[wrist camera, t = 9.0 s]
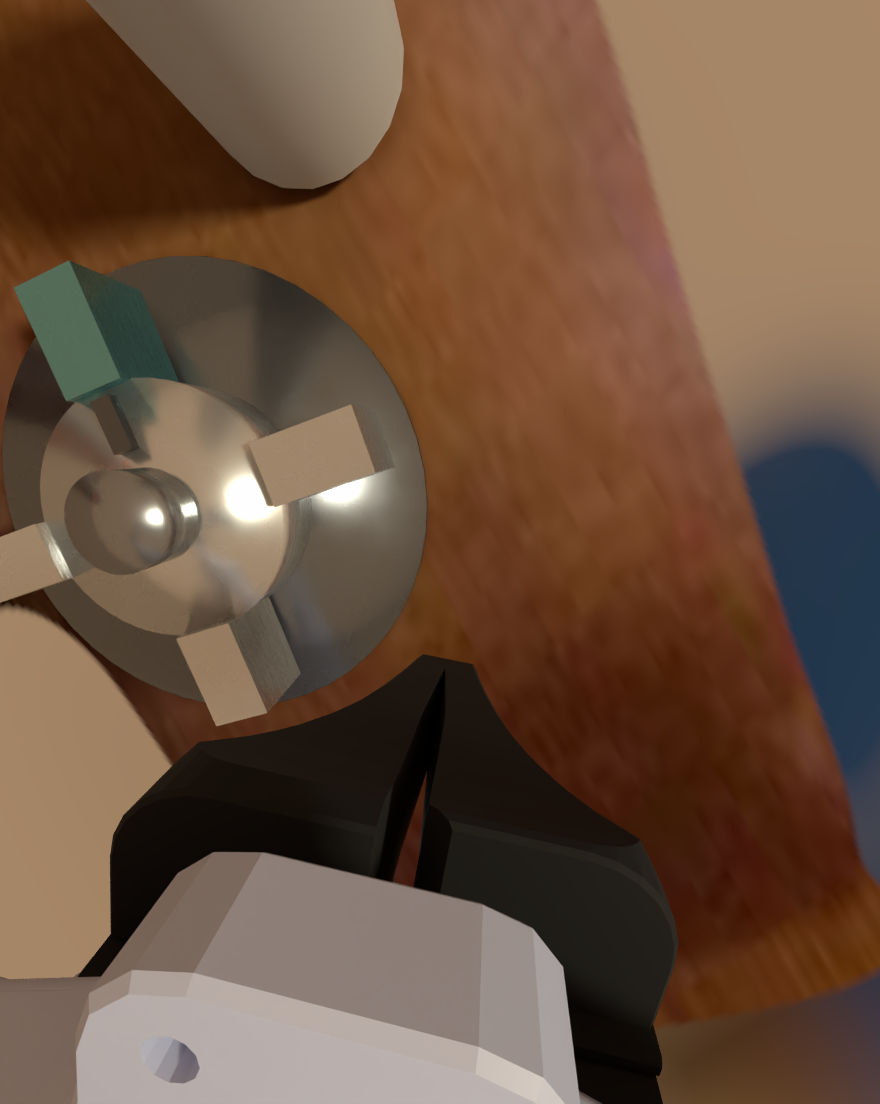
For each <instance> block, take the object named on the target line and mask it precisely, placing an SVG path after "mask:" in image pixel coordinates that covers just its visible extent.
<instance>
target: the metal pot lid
mask: <svg viewBox="0 0 880 1104" xmlns="http://www.w3.org/2000/svg"><path fill="white" fill-rule="evenodd" d="M14 290H15V292H16V294H17V296H18V298H19V301H20V303H21V305H22V307H23V309H24V311H25V313H26V316H27V318H28V320H29V322H30V324H31V326H32V329H33V331H34V333H35V335H36V337H37V339H38V342H39V344H40V346H41V348H42V350H43V352H44V355H45V357H46V359H47V361H48V363H49V365H50V367H51V370H52V372H53V374H54V376H55V378H56V380H57V383H58V385H59V387H60V389H61V391H62V393H63V396H64V398H65V400H66V401H70V402H75V403H74V404H73V405H72V406H71V407H70V408H69V409H68V411H67V412H66V413H65V414H64V415H63V417H62V418H61V419H60V421H59V422H58V424H57V425H56V427H55V429H54V431H53V433H52V435H51V437H50V439H49V441H48V444H47V447H46V450H45V453H44V457H43V462H42V468H41V478H40V495H41V506H42V511H43V517H44V521H45V522H44V523H38V524H33V525H31V526H28V527H25V528H23V529H20V530H18V531H15V532H12V533H10V534H7V535H4V536H2V537H0V603H1V602H4V601H7V600H10V599H14V598H17V597H20V596H23V595H26V594H29V593H32V592H35V591H38V590H41V589H44V588H47V587H50V586H53V585H57V584H60V583H62V582H65V581H68V580H71V579H73V580H74V581H75V582H76V583H77V584H78V585H79V587H80V588H81V589H82V590H83V591H84V592H85V593H86V594H87V595H88V596H89V597H90V598H91V599H92V600H93V601H95V602H96V603H97V604H98V605H99V606H101V607H102V608H103V609H105V610H106V611H108V612H109V613H110V614H112V615H114V616H116V617H117V618H119V619H121V620H122V621H124V622H127V623H129V624H131V625H133V626H136V627H138V628H141V629H144V630H148V631H151V632H155V633H161V634H167V635H182V636H180V637H179V638H177V639H176V640H177V642H178V644H179V646H180V648H181V651H182V653H183V655H184V657H185V659H186V661H187V664H188V666H189V668H190V670H191V672H192V674H193V676H194V679H195V681H196V683H197V685H198V687H199V689H200V692H201V694H202V696H203V698H204V700H205V702H206V705H207V707H208V709H209V711H210V713H211V715H212V718H213V720H214V722H215V724H216V726H219V725H223V724H227V723H230V722H234V721H238V720H242V719H246V718H250V717H253V716H257V715H261V714H265V713H268V712H269V710H270V709H271V708H272V707H273V706H274V704H275V703H276V702H277V701H278V700H279V699H280V697H281V696H282V695H283V694H284V693H285V691H286V690H287V689H288V688H289V687H290V686H291V684H292V683H293V682H294V681H295V680H296V678H297V677H298V676H299V675H300V674H301V673H300V671H299V668H298V666H297V663H296V661H295V659H294V656H293V654H292V651H291V649H290V647H289V644H288V642H287V639H286V637H285V635H284V632H283V630H282V627H281V625H280V623H279V620H278V618H277V616H276V613H275V611H274V608H273V606H272V604H271V601H270V599H269V597H270V596H271V595H272V594H274V593H275V592H276V591H278V590H279V589H280V588H281V587H282V586H283V585H284V584H285V583H286V582H287V581H288V580H289V579H290V577H291V576H292V575H293V573H294V572H295V570H296V569H297V567H298V566H299V564H300V562H301V560H302V558H303V556H304V553H305V550H306V547H307V544H308V541H309V536H310V531H311V521H312V506H311V496H314V495H317V494H319V493H322V492H325V491H328V490H331V489H334V488H337V487H340V486H343V485H345V484H348V483H351V482H354V481H357V480H360V479H363V478H366V477H369V476H371V475H374V474H377V473H380V472H383V471H386V470H389V469H392V468H395V465H394V462H393V459H392V456H391V453H390V450H389V447H388V444H387V442H386V439H385V436H384V433H383V430H382V427H381V424H380V422H379V419H378V416H377V413H376V410H372V409H368V408H364V407H360V406H356V405H352V404H351V405H348V406H345V407H343V408H340V409H337V410H335V411H332V412H330V413H327V414H324V415H322V416H319V417H316V418H314V419H311V420H308V421H306V422H303V423H300V424H298V425H295V426H293V427H290V428H287V429H285V430H282V431H281V430H280V429H279V428H278V427H277V426H276V425H275V424H274V423H273V422H272V421H271V420H270V419H269V418H268V417H267V416H266V415H265V414H264V413H262V412H261V411H260V410H258V409H257V408H256V407H255V406H253V405H251V404H250V403H248V402H246V401H244V400H243V399H241V398H239V397H236V396H234V395H232V394H229V393H227V392H224V391H220V390H216V389H213V388H208V387H202V386H197V385H191V384H186V383H181V382H179V381H178V379H177V376H176V374H175V371H174V369H173V367H172V364H171V362H170V359H169V357H168V355H167V352H166V350H165V347H164V345H163V343H162V340H161V338H160V335H159V333H158V331H157V328H156V326H155V323H154V321H153V319H152V316H151V314H150V311H149V309H148V307H147V304H146V302H145V300H144V297H143V295H142V292H141V291H140V290H138V289H135V288H133V287H131V286H128V285H126V284H123V283H121V282H119V281H116V280H114V279H112V278H109V277H107V276H105V275H102V274H100V273H97V272H95V271H93V270H90V269H88V268H86V267H83V266H81V265H78V264H76V263H74V262H71V261H67V262H65V263H63V264H61V265H59V266H57V267H55V268H53V269H51V270H49V271H47V272H45V273H43V274H41V275H39V276H37V277H35V278H33V279H31V280H29V281H26V282H24V283H22V284H20V285H18V286H16V287H14ZM143 467H150V468H157V469H160V470H163V471H165V472H168V473H170V474H171V475H173V476H174V477H176V478H177V479H178V480H179V481H180V482H181V483H182V484H183V485H184V486H185V487H186V488H187V490H188V491H189V493H190V494H191V496H192V498H193V500H194V502H195V505H196V508H197V513H198V530H197V534H196V537H195V540H194V542H193V544H192V545H191V547H190V548H189V549H188V550H187V551H186V552H185V553H184V554H183V555H181V556H179V557H178V558H175V559H173V560H170V561H167V562H164V563H162V564H159V565H156V566H153V567H151V568H148V569H145V570H142V571H140V572H137V573H134V574H129V575H115V574H110V573H107V572H104V571H102V570H100V569H98V568H96V567H94V566H93V565H91V564H90V563H89V562H88V561H86V560H85V559H84V558H83V557H82V556H81V555H80V553H79V552H78V551H77V550H76V548H75V547H74V545H73V544H72V542H71V540H70V538H69V535H68V533H67V529H66V526H65V519H64V507H65V502H66V498H67V495H68V493H69V491H70V489H71V488H72V486H73V485H74V484H75V483H76V482H77V481H78V480H79V479H80V478H81V477H83V476H85V475H87V474H89V473H91V472H95V471H103V470H116V469H130V468H143Z"/></svg>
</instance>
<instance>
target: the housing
mask: <svg viewBox="0 0 880 1104" xmlns="http://www.w3.org/2000/svg"><path fill="white" fill-rule="evenodd" d="M105 276H107V277H109V278H112V279H114V280H116V281H119V282H121V283H123V284H126V285H128V286H131V287H133V288H135V289H138V290H140V291H141V292H142V295H143V297H144V300H145V302H146V304H147V307H148V309H149V311H150V314H151V316H152V319H153V321H154V323H155V326H156V328H157V331H158V333H159V335H160V338H161V340H162V343H163V345H164V347H165V350H166V352H167V355H168V357H169V359H170V362H171V364H172V367H173V369H174V371H175V374H176V376H177V379H178V381H179V382H181V383H186V384H191V385H197V386H202V387H208V388H213V389H216V390H220V391H224V392H227V393H229V394H232V395H234V396H236V397H239V398H241V399H243V400H244V401H246V402H248V403H250V404H251V405H253V406H255V407H256V408H257V409H258V410H260V411H261V412H262V413H264V414H265V415H266V416H267V417H268V418H269V419H270V420H271V421H272V422H273V423H274V424H275V425H276V426H277V427H278V428H279V429H280V430H281V431H282V430H285V429H287V428H290V427H293V426H295V425H298V424H300V423H303V422H306V421H308V420H311V419H314V418H316V417H319V416H322V415H324V414H327V413H330V412H332V411H335V410H337V409H340V408H343V407H345V406H348V405H351V404H352V405H356V406H360V407H364V408H368V409H372V410H376V413H377V416H378V419H379V422H380V424H381V427H382V430H383V433H384V436H385V439H386V442H387V444H388V447H389V450H390V453H391V456H392V459H393V462H394V465H395V468H392V469H389V470H386V471H383V472H380V473H377V474H374V475H371V476H369V477H366V478H363V479H360V480H357V481H354V482H351V483H348V484H345V485H343V486H340V487H337V488H334V489H331V490H328V491H325V492H322V493H319V494H317V495H314V496H311V506H312V521H311V531H310V536H309V541H308V544H307V547H306V550H305V553H304V556H303V558H302V560H301V562H300V564H299V566H298V567H297V569H296V570H295V572H294V573H293V575H292V576H291V577H290V579H289V580H288V581H287V582H286V583H285V584H284V585H283V586H282V587H281V588H280V589H279V590H278V591H276V592H275V593H274V594H272V595H271V596H270V597H269V599H270V601H271V604H272V606H273V608H274V611H275V613H276V616H277V618H278V620H279V623H280V625H281V627H282V630H283V632H284V635H285V637H286V639H287V642H288V644H289V647H290V649H291V651H292V654H293V656H294V659H295V661H296V663H297V666H298V668H299V671H300V673H301V674H300V675H299V676H298V677H297V678H296V680H295V681H294V682H293V683H292V684H291V686H290V687H289V688H288V689H287V690H286V691H285V693H284V694H283V695H282V696H281V697H280V699H279V700H278V701H277V702H281V701H285V700H288V699H292V698H295V697H298V696H302V695H305V694H308V693H310V692H312V691H314V690H317V689H319V688H321V687H323V686H325V685H328V684H330V683H331V682H333V681H334V680H336V679H337V678H339V677H341V676H342V675H344V674H345V673H347V672H349V671H350V670H351V669H352V668H354V667H355V666H356V665H357V664H358V663H359V662H361V661H362V660H363V659H364V658H365V657H366V656H368V655H369V654H370V653H371V651H372V650H373V649H374V648H375V647H376V646H377V645H378V644H379V642H380V641H381V640H382V639H383V638H384V637H385V636H386V634H387V633H388V631H389V630H390V628H391V627H392V625H393V624H394V622H395V621H396V619H397V618H398V616H399V615H400V613H401V611H402V609H403V607H404V605H405V603H406V601H407V599H408V596H409V594H410V592H411V590H412V588H413V585H414V582H415V579H416V576H417V573H418V569H419V566H420V563H421V560H422V554H423V548H424V542H425V536H426V526H427V492H426V482H425V471H424V466H423V462H422V457H421V453H420V449H419V444H418V440H417V437H416V434H415V431H414V428H413V426H412V423H411V420H410V418H409V415H408V412H407V409H406V407H405V405H404V403H403V401H402V399H401V397H400V395H399V393H398V392H397V390H396V388H395V386H394V384H393V382H392V380H391V378H390V377H389V375H388V374H387V372H386V371H385V369H384V368H383V367H382V365H381V364H380V362H379V361H378V359H377V358H376V356H375V355H374V353H373V352H372V351H371V350H370V348H369V347H368V346H367V345H366V344H365V343H364V342H363V341H362V339H361V338H360V337H359V336H358V335H357V334H356V333H355V332H354V330H353V329H352V328H351V327H350V326H349V325H348V324H347V323H345V322H344V321H343V320H342V319H341V318H340V317H338V316H337V315H336V314H335V313H334V312H333V311H332V310H330V309H329V308H328V307H327V306H326V305H325V304H323V303H322V302H320V301H319V300H317V299H316V298H314V297H313V296H311V295H310V294H308V293H307V292H305V291H304V290H302V289H301V288H299V287H298V286H296V285H294V284H292V283H290V282H288V281H286V280H284V279H282V278H280V277H277V276H275V275H273V274H271V273H269V272H267V271H265V270H261V269H258V268H255V267H252V266H249V265H245V264H242V263H239V262H236V261H230V260H224V259H217V258H211V257H205V256H172V257H165V258H159V259H152V260H146V261H142V262H139V263H136V264H133V265H129V266H126V267H123V268H120V269H117V270H115V271H113V272H111V273H109V274H107V275H105ZM74 403H75V402H70V401H66V400H65V398H64V396H63V393H62V391H61V389H60V387H59V385H58V383H57V380H56V378H55V376H54V374H53V372H52V370H51V367H50V365H49V363H48V361H47V359H46V357H45V355H44V352H43V350H42V348H41V346H40V344H39V342H38V339H37V337H36V338H35V339H34V340H33V342H32V343H31V345H30V347H29V349H28V351H27V353H26V355H25V357H24V359H23V361H22V363H21V365H20V367H19V369H18V372H17V375H16V378H15V381H14V384H13V386H12V389H11V392H10V396H9V401H8V406H7V411H6V415H5V420H4V432H3V446H2V457H3V477H4V484H5V490H6V496H7V502H8V507H9V511H10V514H11V518H12V521H13V525H14V528H15V531H18V530H20V529H23V528H25V527H28V526H31V525H33V524H38V523H44V522H45V521H44V517H43V511H42V506H41V495H40V478H41V468H42V462H43V457H44V453H45V450H46V447H47V444H48V441H49V439H50V437H51V435H52V433H53V431H54V429H55V427H56V425H57V424H58V422H59V421H60V419H61V418H62V417H63V415H64V414H65V413H66V412H67V411H68V409H69V408H70V407H71V406H72V405H73V404H74ZM64 519H65V526H66V529H67V533H68V535H69V538H70V540H71V542H72V544H73V545H74V547H75V548H76V550H77V551H78V552H79V553H80V555H81V556H82V557H83V558H84V559H85V560H86V561H88V562H89V563H90V564H91V565H93V566H94V567H96V568H98V569H100V570H102V571H104V572H107V573H110V574H115V575H129V574H134V573H137V572H140V571H142V570H145V569H148V568H151V567H153V566H156V565H159V564H162V563H164V562H167V561H170V560H173V559H175V558H178V557H179V556H181V555H183V554H184V553H185V552H186V551H187V550H188V549H189V548H190V547H191V545H192V544H193V542H194V540H195V537H196V534H197V530H198V513H197V508H196V505H195V502H194V500H193V498H192V496H191V494H190V493H189V491H188V490H187V488H186V487H185V486H184V485H183V484H182V483H181V482H180V481H179V480H178V479H177V478H176V477H174V476H173V475H171V474H170V473H168V472H165V471H163V470H160V469H157V468H150V467H143V468H130V469H116V470H103V471H95V472H91V473H89V474H87V475H85V476H83V477H81V478H80V479H79V480H78V481H77V482H76V483H75V484H74V485H73V486H72V488H71V489H70V491H69V493H68V495H67V498H66V502H65V507H64ZM43 590H44V591H45V593H46V594H47V596H48V597H49V599H50V600H51V602H52V603H53V605H54V606H55V607H56V609H57V610H58V611H59V612H60V613H61V615H62V616H63V617H64V618H65V619H66V621H67V622H68V623H69V624H70V625H71V627H72V628H73V629H74V630H75V631H76V632H77V633H78V634H79V635H80V636H81V637H82V638H83V639H85V640H86V641H87V642H88V643H89V644H90V645H91V646H92V647H93V648H94V649H95V650H97V651H98V652H99V653H101V654H102V655H103V656H104V657H106V658H107V659H108V660H109V661H111V662H112V663H113V664H115V665H117V666H118V667H120V668H121V669H123V670H124V671H126V672H128V673H129V674H131V675H132V676H134V677H136V678H138V679H140V680H142V681H144V682H146V683H148V684H150V685H152V686H154V687H156V688H158V689H161V690H164V691H167V692H170V693H172V694H175V695H178V696H181V697H184V698H188V699H193V700H197V701H202V702H205V700H204V698H203V696H202V694H201V692H200V689H199V687H198V685H197V683H196V681H195V679H194V676H193V674H192V672H191V670H190V668H189V666H188V664H187V661H186V659H185V657H184V655H183V653H182V651H181V648H180V646H179V644H178V642H177V640H176V639H177V638H179V637H180V636H182V635H167V634H161V633H155V632H151V631H148V630H144V629H141V628H138V627H136V626H133V625H131V624H129V623H127V622H124V621H122V620H121V619H119V618H117V617H116V616H114V615H112V614H110V613H109V612H108V611H106V610H105V609H103V608H102V607H101V606H99V605H98V604H97V603H96V602H95V601H93V600H92V599H91V598H90V597H89V596H88V595H87V594H86V593H85V592H84V591H83V590H82V589H81V588H80V587H79V585H78V584H77V583H76V582H75V581H74V580H73V579H71V580H68V581H65V582H62V583H60V584H57V585H53V586H50V587H47V588H44V589H43Z"/></svg>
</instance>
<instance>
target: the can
mask: <svg viewBox="0 0 880 1104" xmlns="http://www.w3.org/2000/svg"><path fill="white" fill-rule="evenodd" d="M86 1H87V2H88V3H89V5H90V6H91V7H92V8H93V9H94V10H95V11H96V12H97V13H98V14H99V15H100V16H101V17H102V18H103V20H104V21H105V22H106V23H107V24H108V25H109V26H110V27H111V28H112V29H113V30H114V31H115V32H116V33H117V34H118V36H119V37H120V38H121V39H122V40H123V41H124V42H125V43H126V44H127V45H128V46H129V47H130V48H131V49H132V51H133V52H134V53H135V54H136V55H137V56H138V57H139V58H140V59H141V60H142V61H143V62H144V63H145V64H146V66H147V67H148V68H149V69H150V70H151V71H152V72H153V73H154V74H155V75H156V76H157V77H158V78H159V79H160V81H161V82H162V83H163V84H164V85H165V86H166V87H167V88H168V89H169V90H170V91H171V92H172V93H173V94H174V95H175V97H176V98H177V99H178V100H179V101H180V102H181V103H182V104H183V105H184V106H185V107H186V108H187V109H188V110H189V112H190V113H191V114H192V115H193V116H194V117H195V118H196V119H197V120H198V121H199V122H200V123H201V124H202V125H203V127H204V128H205V129H206V130H207V131H208V132H209V133H210V134H211V135H212V136H213V137H214V138H215V139H216V140H217V142H218V143H219V144H220V145H221V146H222V147H223V148H224V149H225V150H226V151H227V152H228V153H229V154H230V155H231V156H232V157H233V158H234V159H235V160H236V161H238V162H239V163H240V164H241V165H242V166H243V167H244V168H245V169H246V170H248V171H249V172H250V173H251V174H252V175H253V176H255V177H257V178H260V179H262V180H265V181H267V182H269V183H272V184H274V185H276V186H279V187H281V188H296V189H315V188H318V187H320V186H323V185H326V184H329V183H332V182H335V181H338V180H341V179H343V178H344V177H346V176H347V175H348V174H349V173H351V172H352V171H353V170H354V169H356V168H357V167H358V166H359V165H360V164H362V163H363V162H364V161H365V160H367V159H368V158H369V157H370V155H371V154H372V152H373V151H374V149H375V148H376V146H377V145H378V143H379V142H380V140H381V139H382V137H383V136H384V134H385V133H386V131H387V130H388V128H389V127H390V124H391V121H392V118H393V115H394V111H395V108H396V105H397V102H398V99H399V96H400V93H401V90H402V74H403V55H404V46H403V41H402V37H401V32H400V27H399V22H398V17H397V13H396V8H395V4H394V0H86Z"/></svg>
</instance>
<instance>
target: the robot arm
mask: <svg viewBox="0 0 880 1104" xmlns="http://www.w3.org/2000/svg"><path fill="white" fill-rule="evenodd" d="M426 772H427V778H426V788H425V799H424V809H423V820H422V831H421V841H420V852H419V860H418V866H417V871H416V877H415V882H414V887H410V886H406V885H402V884H397V883H393V878H394V873H395V870H396V866H397V863H398V859H399V855H400V852H401V849H402V846H403V843H404V840H405V837H406V834H407V830H408V827H409V824H410V821H411V818H412V815H413V812H414V809H415V806H416V803H417V800H418V797H419V794H420V791H421V787H422V784H423V781H424V778H425V775H426ZM110 893H111V894H110V895H111V898H110V899H111V934H110V936H109V937H108V938H107V940H106V941H105V942H104V943H103V945H102V946H101V947H100V948H99V950H98V951H97V952H96V954H95V955H94V956H93V957H92V959H91V960H90V961H89V963H88V964H87V965H86V966H85V968H84V969H83V970H82V971H81V973H79V974H77V975H76V976H74V977H72V978H41V979H40V978H37V979H6V978H2V977H0V1104H663V1102H662V1098H661V1094H660V1090H659V1086H658V1082H657V1078H656V1075H657V1076H659V1075H660V1072H661V1070H662V1056H661V1052H660V1049H659V1045H658V1041H657V1037H656V1034H655V1030H654V1026H653V1023H654V1020H655V1018H656V1015H657V1012H658V1009H659V1007H660V1004H661V1001H662V998H663V995H664V993H665V990H666V987H667V984H668V982H669V979H670V976H671V973H672V971H673V968H674V965H675V959H676V953H677V948H678V938H677V932H676V926H675V921H674V917H673V915H672V912H671V909H670V907H669V904H668V901H667V898H666V896H665V893H664V890H663V888H662V886H661V883H660V881H659V879H658V876H657V874H656V871H655V869H654V867H653V865H652V863H651V861H650V859H649V857H648V855H647V853H646V851H645V849H644V847H643V845H642V842H641V841H640V839H639V838H637V837H635V836H634V835H632V834H631V833H629V832H627V831H626V830H624V829H623V828H621V827H619V826H618V825H616V824H615V823H613V822H611V821H610V820H608V819H606V818H605V817H603V816H602V815H600V814H598V813H597V812H595V811H594V810H592V809H591V808H590V807H588V806H587V805H586V804H584V803H583V802H582V801H580V800H579V799H578V798H576V797H575V796H574V795H572V794H571V793H570V792H568V791H567V790H566V789H565V788H563V787H562V786H561V785H560V784H559V783H557V782H556V781H555V780H554V779H553V778H552V777H551V776H550V775H549V774H547V773H546V772H545V771H544V770H543V769H542V768H541V767H540V766H539V765H538V764H537V763H536V762H535V761H534V760H533V759H532V758H531V757H530V756H529V755H528V754H527V753H526V752H525V750H524V749H523V748H522V747H521V746H520V745H519V743H518V742H517V741H516V740H515V739H514V738H513V736H512V735H511V734H510V732H509V731H508V730H507V728H506V727H505V725H504V724H503V722H502V721H501V719H500V718H499V716H498V714H497V713H496V711H495V709H494V707H493V706H492V704H491V702H490V700H489V698H488V696H487V694H486V692H485V690H484V688H483V686H482V684H481V682H480V679H479V677H478V674H477V671H476V669H475V667H474V666H473V664H469V663H464V662H459V661H454V660H449V659H444V658H439V657H434V656H429V655H424V654H423V655H422V656H420V657H419V658H417V659H416V660H415V661H414V662H413V663H412V664H411V665H409V666H408V667H407V668H406V669H405V670H403V671H402V672H401V673H400V674H398V675H397V676H396V677H394V678H393V679H392V680H390V681H389V682H388V683H386V684H385V685H384V686H382V687H381V688H379V689H378V690H376V691H374V692H373V693H371V694H370V695H368V696H367V697H365V698H363V699H362V700H360V701H358V702H356V703H354V704H352V705H350V706H347V707H345V708H343V709H341V710H339V711H336V712H334V713H332V714H329V715H326V716H323V717H320V718H317V719H314V720H312V721H309V722H306V723H303V724H300V725H296V726H293V727H289V728H285V729H281V730H277V731H272V732H267V733H263V734H257V735H252V736H245V737H238V738H230V739H222V740H215V741H205V742H199V743H198V744H196V745H195V746H194V747H193V748H192V749H191V750H190V751H188V752H187V753H186V754H185V755H184V756H183V757H182V758H180V759H179V760H178V761H177V762H176V763H175V764H174V765H173V766H172V767H171V768H170V769H169V770H168V771H167V772H166V773H165V774H164V775H163V776H162V777H161V778H160V779H159V780H158V781H157V782H156V783H155V784H154V785H153V786H152V787H151V788H150V789H149V790H148V791H147V792H146V793H145V794H144V795H143V796H142V797H141V798H140V799H139V800H138V801H137V802H136V803H135V804H134V805H133V806H132V807H131V808H130V809H129V810H128V811H127V812H126V813H125V814H124V815H123V817H122V819H121V821H120V823H119V825H118V827H117V829H116V831H115V832H114V834H113V841H112V847H111V854H110Z"/></svg>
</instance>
